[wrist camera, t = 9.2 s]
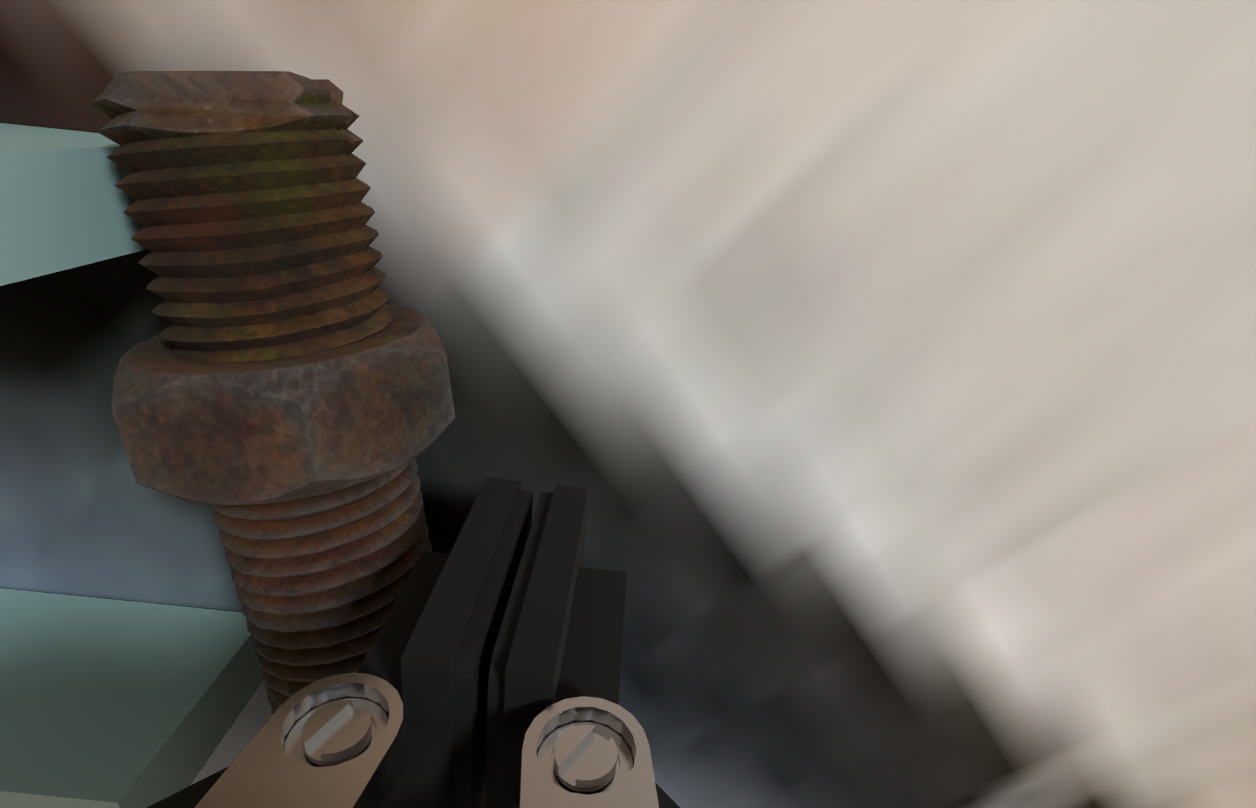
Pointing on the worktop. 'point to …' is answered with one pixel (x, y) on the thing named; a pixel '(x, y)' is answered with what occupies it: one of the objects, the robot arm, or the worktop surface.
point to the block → (86, 626)
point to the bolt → (275, 357)
